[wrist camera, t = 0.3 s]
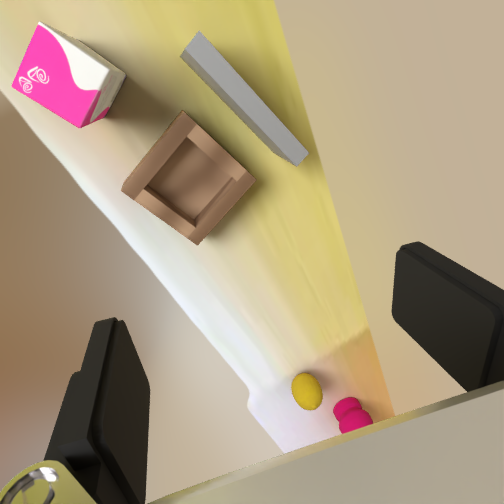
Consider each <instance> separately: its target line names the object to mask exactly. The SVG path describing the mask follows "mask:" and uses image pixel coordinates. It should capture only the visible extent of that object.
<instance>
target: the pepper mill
mask: <svg viewBox="0 0 504 504" xmlns="http://www.w3.org/2000/svg"><path fill="white" fill-rule="evenodd" d="M333 413H334V415H335V417H336V419H337V420H338V421H339V429H340V431H341V433H342V434H344V433H347V432H350V431H353V430H356V429H359V428H362V427H365V426H368V425H371V424H373V421H372V419H371V417H370V415H369V414H368V412H366V411H365V410H362V407H361V405H360V403H359V402H358V400H357V399H356V398H352V397H349V398H345V399H343V400H341V401H339V402H338V403H337V404H336V405H335V407H334V410H333Z"/></svg>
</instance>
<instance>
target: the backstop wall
mask: <svg viewBox="0 0 504 504" xmlns="http://www.w3.org/2000/svg"><path fill="white" fill-rule="evenodd" d="M180 57H181V58H182V59H183V60H184V61H185V62H186V63H187V64H188V65H189V66H190V67H191V68H192V69H193V70H194V72H195V73H196V74H197V75H198V76H199V77H200V78H201V79H202V80H203V81H204V82H205V83H206V84H207V85H208V86H209V87H210V88H211V89H212V90H213V91H214V92H215V93H216V94H217V95H218V96H219V97H220V98H221V99H222V100H223V101H224V102H225V103H226V104H227V105H228V106H229V108H230V109H231V110H232V111H233V112H234V113H235V114H236V115H237V116H238V117H239V118H240V119H241V120H242V121H243V122H244V123H245V124H246V125H247V126H248V127H249V128H250V129H251V130H252V131H253V132H254V133H255V134H256V135H257V136H258V137H259V138H260V139H261V140H262V141H263V142H264V144H265V145H266V146H267V147H268V148H269V149H270V150H271V151H272V152H273V153H275V154H277V155H278V156H280V157H282V158H283V159H285V160H287V161H288V162H290V163H292V164H293V165H295V166H298V165H299V164H300V163H301V161H302V160H303V159H304V158H305V157H306V156H307V155H308V154H309V152H308V151H307V150H306V149H305V148H304V147H303V146H302V144H301V143H300V142H299V141H298V140H297V139H296V138H295V137H294V136H293V134H292V133H291V132H290V131H289V130H288V129H287V128H286V127H285V125H284V124H283V123H282V122H281V121H280V120H279V119H278V118H277V117H276V115H275V114H274V113H273V112H272V111H271V110H270V109H269V108H268V107H267V105H266V104H265V103H264V102H263V101H262V100H261V99H260V98H259V97H258V95H257V94H256V93H255V92H254V91H253V90H252V89H251V88H250V87H249V85H248V84H247V83H246V82H245V81H244V80H243V79H242V78H241V76H240V75H239V74H238V73H237V72H236V71H235V70H234V69H233V68H232V66H231V65H230V64H229V63H228V62H227V61H226V60H225V59H224V58H223V56H222V55H221V54H220V53H219V52H218V51H217V50H216V49H215V48H214V46H213V45H212V44H211V43H210V42H209V41H208V40H207V39H206V38H205V36H204V35H203V34H202V33H201V32H200V31H198V33H197V34H196V35H195V37H194V38H193V39H192V40H191V42H190V43H189V44H188V46H187V47H186V48H185V49H184V51H183V53H182V54H181V56H180Z"/></svg>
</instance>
